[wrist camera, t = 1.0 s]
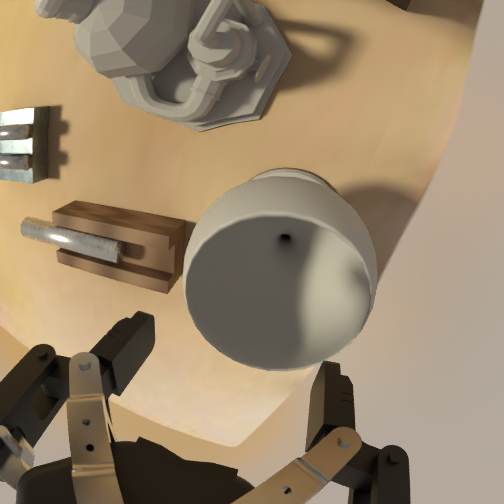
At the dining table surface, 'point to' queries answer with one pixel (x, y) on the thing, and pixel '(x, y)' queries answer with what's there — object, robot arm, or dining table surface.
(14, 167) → the V-block
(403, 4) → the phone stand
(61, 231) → the axle
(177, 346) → the dining table surface
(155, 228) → the grooved beam
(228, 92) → the grey faceted sculpture
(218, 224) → the chalice
